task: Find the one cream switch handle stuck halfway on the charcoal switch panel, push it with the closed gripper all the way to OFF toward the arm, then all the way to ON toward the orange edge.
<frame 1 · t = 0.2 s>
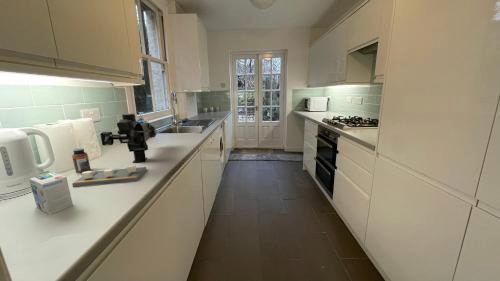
hand: (116, 142, 90), 17 cm above the counter, tool horizontal, fingers open, 9 cm apart
light bulb box: (55, 206, 71), on the counter
tripped switch: (131, 169, 96), point 3 cm above the counter, slide at 3.0 cm
switch middle: (108, 173, 91), point 3 cm above the counter, slide at 6.0 cm
switch right: (87, 174, 90), point 3 cm above the counter, slide at 6.0 cm
supplement bottle: (83, 171, 104), on the counter
switch panel: (113, 177, 95), on the counter
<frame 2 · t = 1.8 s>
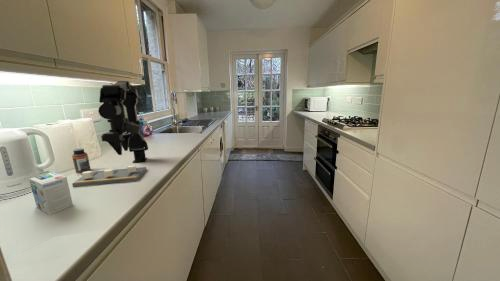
hand: (123, 152, 88), 13 cm above the counter, tool pointing down, fingers open, 6 cm apart
nothing on the counter moved.
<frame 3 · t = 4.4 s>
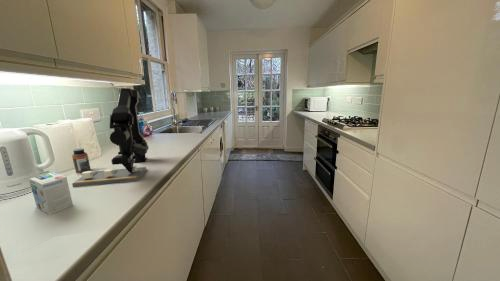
hand: (130, 172, 94), 2 cm above the counter, tool pointing down, fingers closed
tripped switch: (132, 168, 96), point 3 cm above the counter, slide at 2.2 cm, touching gripper
everything else where it was.
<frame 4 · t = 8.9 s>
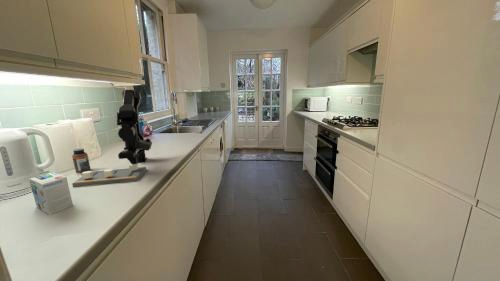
hand: (135, 166, 100), 3 cm above the counter, tool pointing down, fingers closed
tripped switch: (133, 167, 98), point 3 cm above the counter, slide at 0.7 cm, touching gripper
everything else where it was.
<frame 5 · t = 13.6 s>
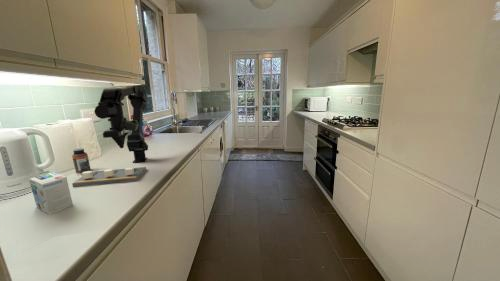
hand: (122, 148, 99), 12 cm above the counter, tool pointing down, fingers closed
tripped switch: (129, 171, 93), point 3 cm above the counter, slide at 6.1 cm
everything else where it was.
at the end: tripped switch slide at 6.1 cm; switch middle slide at 6.0 cm; switch right slide at 6.0 cm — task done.
